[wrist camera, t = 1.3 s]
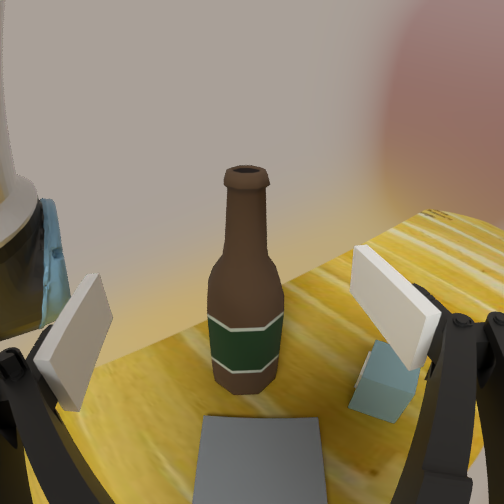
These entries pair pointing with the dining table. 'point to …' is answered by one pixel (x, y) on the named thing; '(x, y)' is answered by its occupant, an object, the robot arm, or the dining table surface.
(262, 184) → the beer bottle
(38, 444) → the robot arm
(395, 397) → the letter block
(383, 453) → the dining table surface
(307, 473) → the mat
